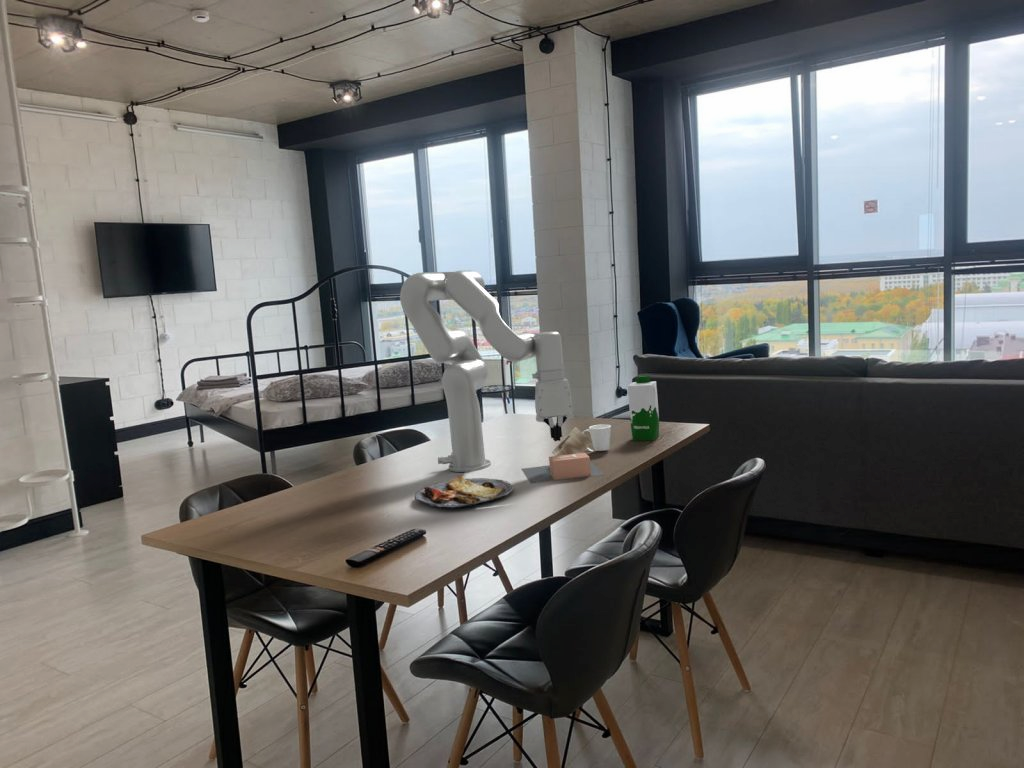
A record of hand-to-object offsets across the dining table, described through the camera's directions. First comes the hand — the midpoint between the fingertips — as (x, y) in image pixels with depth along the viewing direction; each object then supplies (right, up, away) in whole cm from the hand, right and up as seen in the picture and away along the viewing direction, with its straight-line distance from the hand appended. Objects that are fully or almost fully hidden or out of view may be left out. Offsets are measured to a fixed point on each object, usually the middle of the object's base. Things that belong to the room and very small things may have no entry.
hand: (556, 440), depth 217 cm
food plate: (-25, -14, -21) cm, 35 cm away
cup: (+13, -5, +17) cm, 22 cm away
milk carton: (+31, -2, +31) cm, 43 cm away
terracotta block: (-2, -7, -11) cm, 13 cm away
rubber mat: (+1, -9, -5) cm, 10 cm away
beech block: (+1, -6, +1) cm, 6 cm away
